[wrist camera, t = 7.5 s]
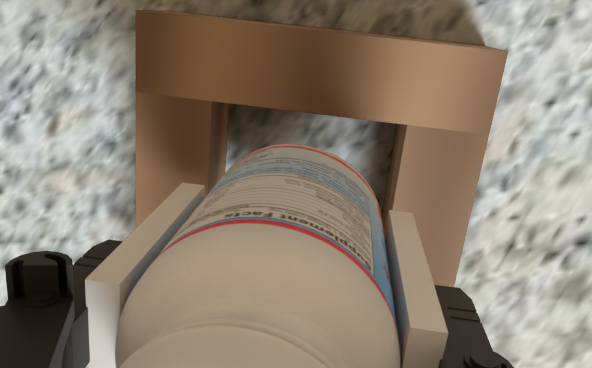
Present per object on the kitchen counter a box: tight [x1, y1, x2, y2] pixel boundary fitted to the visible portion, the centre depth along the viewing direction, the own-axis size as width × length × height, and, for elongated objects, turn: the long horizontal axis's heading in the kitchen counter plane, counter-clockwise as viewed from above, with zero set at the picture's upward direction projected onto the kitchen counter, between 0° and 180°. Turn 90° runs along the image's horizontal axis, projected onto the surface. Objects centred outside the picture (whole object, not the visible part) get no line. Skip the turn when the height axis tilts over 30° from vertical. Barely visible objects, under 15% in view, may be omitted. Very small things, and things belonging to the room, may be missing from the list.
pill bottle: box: [115, 144, 400, 368], centre depth 13 cm, size 6×6×11 cm
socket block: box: [136, 10, 508, 287], centre depth 21 cm, size 13×13×3 cm
